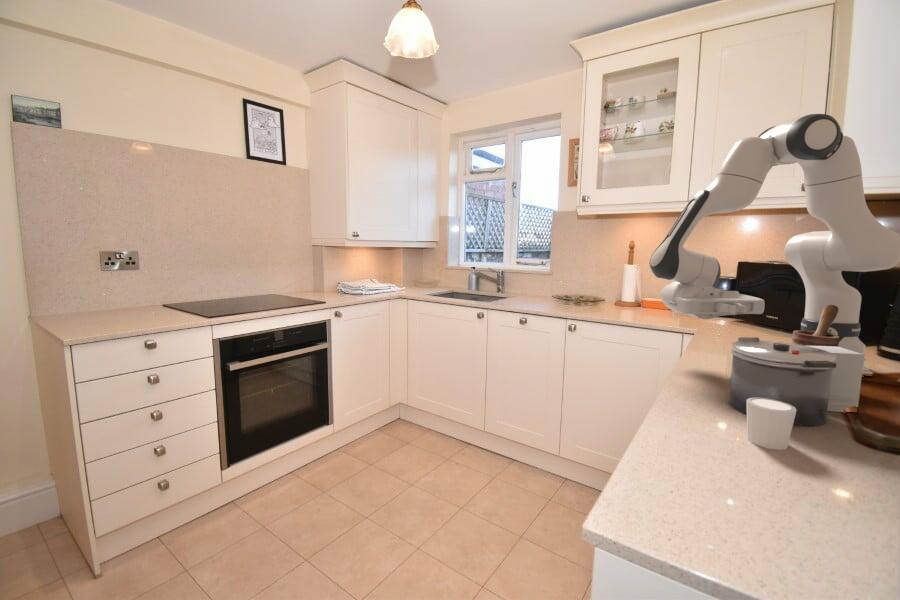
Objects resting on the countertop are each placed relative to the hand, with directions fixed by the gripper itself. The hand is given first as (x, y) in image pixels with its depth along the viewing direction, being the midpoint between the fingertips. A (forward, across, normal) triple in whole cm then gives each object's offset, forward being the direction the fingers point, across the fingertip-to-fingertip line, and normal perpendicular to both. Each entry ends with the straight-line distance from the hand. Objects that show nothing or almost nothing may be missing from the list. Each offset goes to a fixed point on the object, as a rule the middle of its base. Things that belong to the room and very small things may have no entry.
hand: (740, 309), depth 95 cm
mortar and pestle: (-5, +23, +20) cm, 31 cm away
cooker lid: (+13, 0, +7) cm, 15 cm away
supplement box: (+10, +13, +20) cm, 26 cm away
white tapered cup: (+27, -13, +20) cm, 36 cm away
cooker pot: (+13, 0, +20) cm, 23 cm away
